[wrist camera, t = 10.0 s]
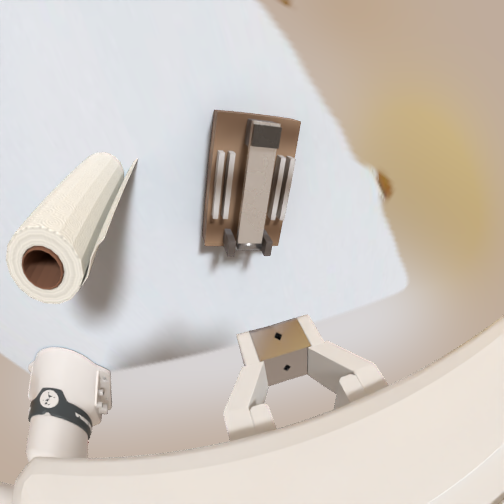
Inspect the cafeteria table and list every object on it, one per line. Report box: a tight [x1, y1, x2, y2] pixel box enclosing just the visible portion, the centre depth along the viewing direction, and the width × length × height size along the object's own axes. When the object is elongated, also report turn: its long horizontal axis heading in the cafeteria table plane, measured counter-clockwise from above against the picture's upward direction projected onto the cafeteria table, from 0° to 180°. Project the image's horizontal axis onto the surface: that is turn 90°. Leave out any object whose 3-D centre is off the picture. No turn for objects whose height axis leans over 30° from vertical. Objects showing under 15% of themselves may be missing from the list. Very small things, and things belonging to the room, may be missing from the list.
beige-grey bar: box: [236, 120, 282, 250], centre depth 34 cm, size 16×3×2 cm, turn 172°
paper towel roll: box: [6, 152, 138, 304], centre depth 25 cm, size 7×6×21 cm
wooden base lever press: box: [203, 110, 301, 256], centre depth 36 cm, size 17×10×6 cm, turn 172°
